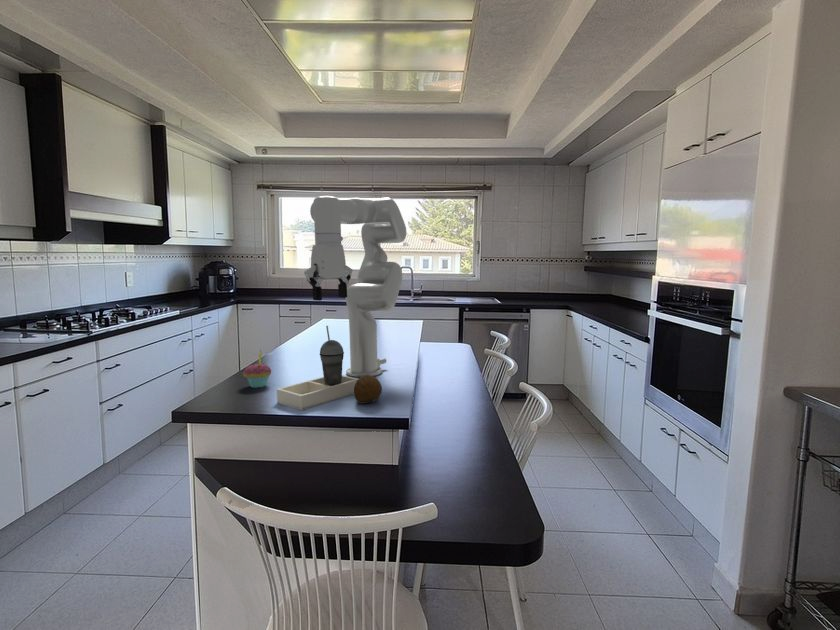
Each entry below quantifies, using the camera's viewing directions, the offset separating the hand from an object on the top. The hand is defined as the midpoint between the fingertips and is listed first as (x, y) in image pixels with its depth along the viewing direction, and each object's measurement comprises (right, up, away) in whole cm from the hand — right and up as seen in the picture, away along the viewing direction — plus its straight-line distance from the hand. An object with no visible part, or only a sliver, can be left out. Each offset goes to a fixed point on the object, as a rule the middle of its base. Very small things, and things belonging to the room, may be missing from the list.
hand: (330, 298), depth 140 cm
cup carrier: (-3, -29, -1) cm, 29 cm away
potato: (+12, -30, -6) cm, 32 cm away
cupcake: (-26, -28, +12) cm, 40 cm away
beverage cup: (0, -28, +3) cm, 28 cm away
